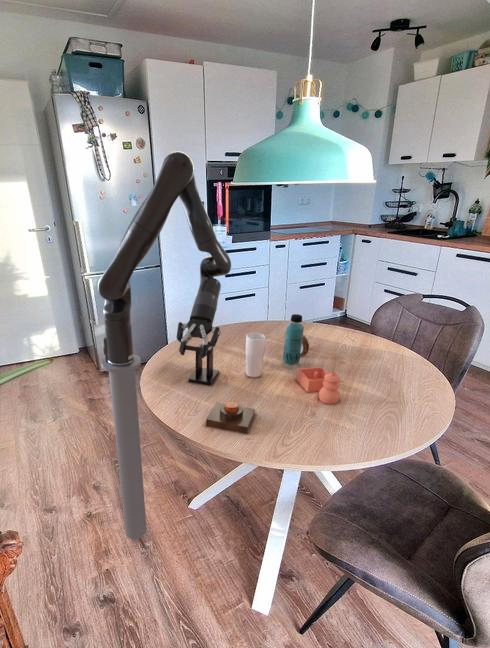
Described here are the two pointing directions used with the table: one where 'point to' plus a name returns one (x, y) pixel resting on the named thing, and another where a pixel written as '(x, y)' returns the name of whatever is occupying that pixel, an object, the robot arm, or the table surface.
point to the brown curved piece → (303, 345)
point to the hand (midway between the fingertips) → (192, 355)
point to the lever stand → (204, 369)
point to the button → (231, 407)
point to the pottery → (320, 383)
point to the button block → (231, 418)
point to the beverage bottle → (293, 341)
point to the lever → (193, 348)
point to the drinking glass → (254, 353)
